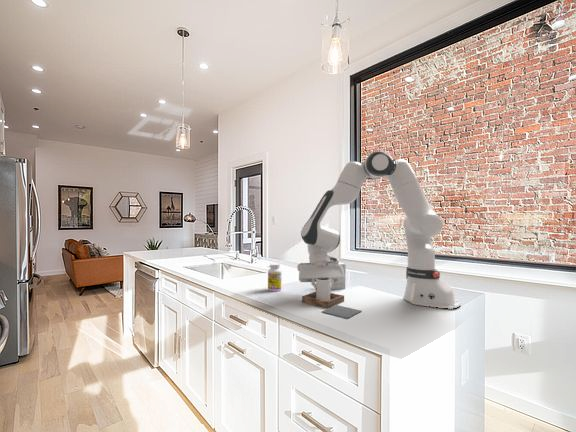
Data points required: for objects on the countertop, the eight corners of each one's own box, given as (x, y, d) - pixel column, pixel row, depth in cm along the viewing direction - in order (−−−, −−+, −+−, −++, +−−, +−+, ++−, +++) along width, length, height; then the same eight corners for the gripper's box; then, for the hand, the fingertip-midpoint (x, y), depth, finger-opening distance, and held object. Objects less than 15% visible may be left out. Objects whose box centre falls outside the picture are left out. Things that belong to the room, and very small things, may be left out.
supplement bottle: (265, 289, 150) (265, 263, 150) (274, 287, 154) (275, 262, 154) (274, 292, 145) (274, 265, 145) (284, 290, 150) (284, 264, 150)
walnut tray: (344, 301, 131) (344, 295, 131) (328, 308, 121) (328, 302, 121) (318, 295, 140) (319, 290, 140) (302, 302, 130) (302, 296, 130)
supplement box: (345, 289, 154) (346, 264, 154) (332, 289, 152) (332, 264, 152) (339, 285, 161) (339, 261, 161) (326, 286, 159) (326, 262, 159)
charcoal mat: (361, 311, 118) (361, 310, 118) (347, 318, 109) (347, 317, 109) (336, 305, 125) (336, 304, 125) (321, 312, 116) (321, 311, 116)
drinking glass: (328, 304, 126) (329, 280, 126) (313, 302, 129) (313, 279, 129) (332, 300, 132) (332, 277, 132) (317, 298, 135) (318, 276, 135)
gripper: (297, 258, 136) (300, 285, 127) (342, 258, 138) (348, 285, 129) (296, 267, 141) (298, 293, 131) (339, 266, 143) (345, 293, 133)
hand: (323, 289), depth 130 cm, fingers open, 5 cm apart
